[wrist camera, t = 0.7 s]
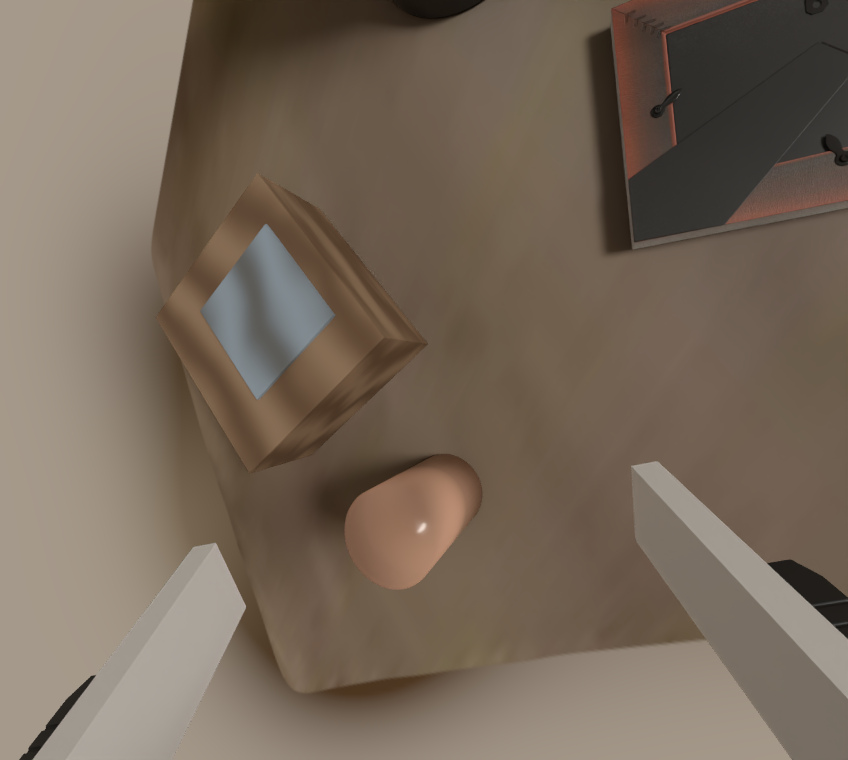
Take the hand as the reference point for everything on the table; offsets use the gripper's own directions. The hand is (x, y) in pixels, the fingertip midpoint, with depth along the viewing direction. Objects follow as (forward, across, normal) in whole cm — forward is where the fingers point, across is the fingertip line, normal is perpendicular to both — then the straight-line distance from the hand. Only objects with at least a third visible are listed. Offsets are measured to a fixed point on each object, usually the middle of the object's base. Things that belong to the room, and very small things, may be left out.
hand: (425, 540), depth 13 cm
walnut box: (+30, -11, +2) cm, 32 cm away
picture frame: (+20, +28, +12) cm, 37 cm away
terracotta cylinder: (+20, 0, -12) cm, 23 cm away
